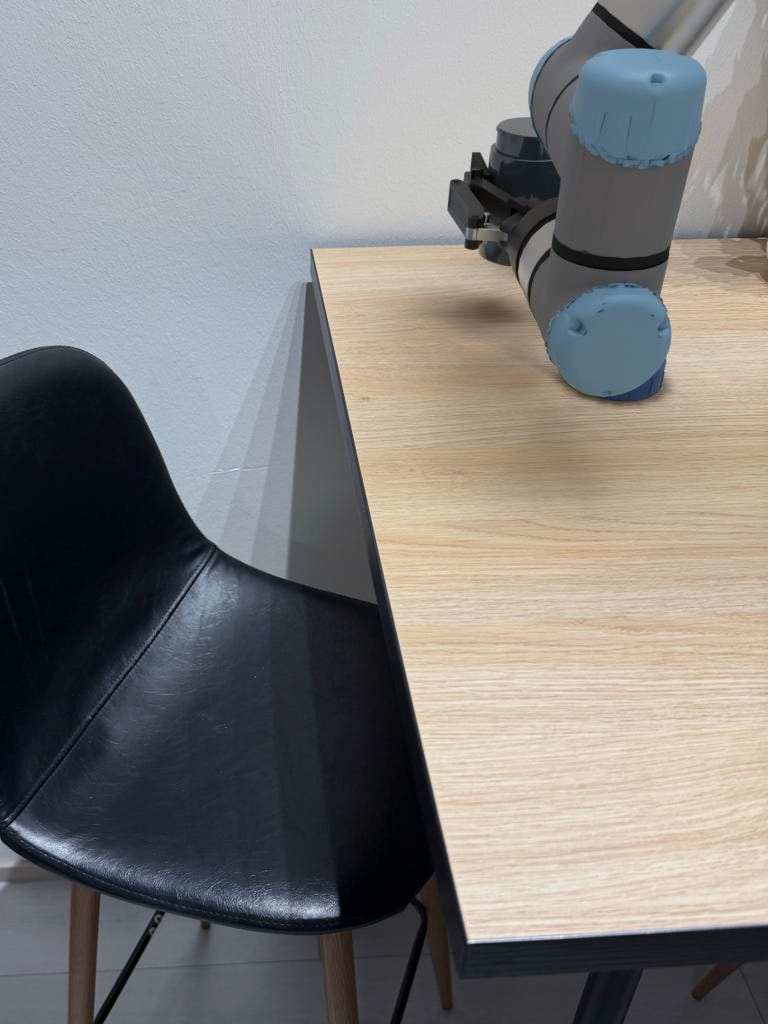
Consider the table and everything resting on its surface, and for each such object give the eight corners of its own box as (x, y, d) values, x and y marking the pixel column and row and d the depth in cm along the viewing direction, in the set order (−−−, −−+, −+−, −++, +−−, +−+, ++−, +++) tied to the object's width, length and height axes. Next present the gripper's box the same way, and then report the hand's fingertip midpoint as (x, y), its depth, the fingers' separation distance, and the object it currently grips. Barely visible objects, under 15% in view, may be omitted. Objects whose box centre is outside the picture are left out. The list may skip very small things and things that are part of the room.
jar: (530, 236, 99) (549, 112, 92) (566, 262, 94) (589, 134, 87) (465, 244, 97) (479, 119, 90) (498, 271, 92) (516, 141, 85)
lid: (553, 381, 88) (557, 357, 87) (597, 352, 92) (602, 328, 91) (634, 410, 84) (640, 385, 83) (675, 378, 88) (682, 353, 87)
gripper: (431, 310, 81) (404, 209, 98) (685, 310, 81) (614, 209, 98) (440, 211, 76) (411, 123, 93) (711, 211, 76) (631, 123, 93)
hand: (515, 167), depth 95 cm, fingers closed on jar, 7 cm apart
